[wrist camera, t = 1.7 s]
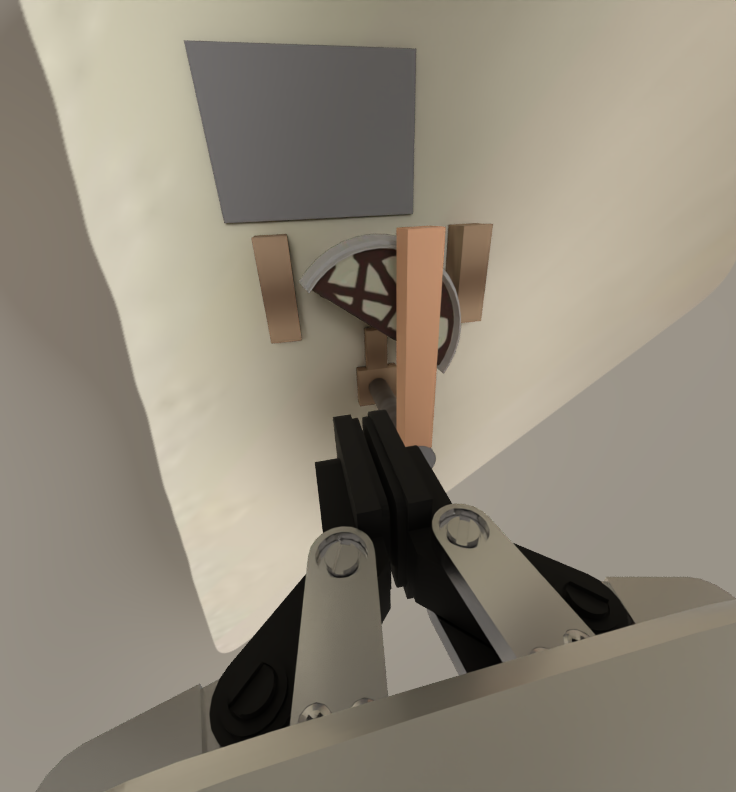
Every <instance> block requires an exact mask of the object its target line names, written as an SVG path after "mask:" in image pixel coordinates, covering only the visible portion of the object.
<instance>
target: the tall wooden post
mask: <svg viewBox="0 0 736 792" xmlns="http://www.w3.org/2000/svg"><path fill="white" fill-rule="evenodd" d="M445 228H446V227H441V226H417V227H399V228H397V432H398V434H399V435H400V437H401V439H402V441H403V443H404V445H405V447H408V446H414V445H417V446H418V447H419V448H420V450H421V451H422V453H423V455H424V456H425V458H426V460H427V462H428V463H429V465H430V467H431V468H432V467H433V466H434V464H435V461H436V456H435V453H434V452H433V450H432V449H431V447H432V433H433V417H434V401H435V386H436V370H437V354H438V338H439V323H440V307H441V291H442V276H443V260H444V244H445Z"/></svg>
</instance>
